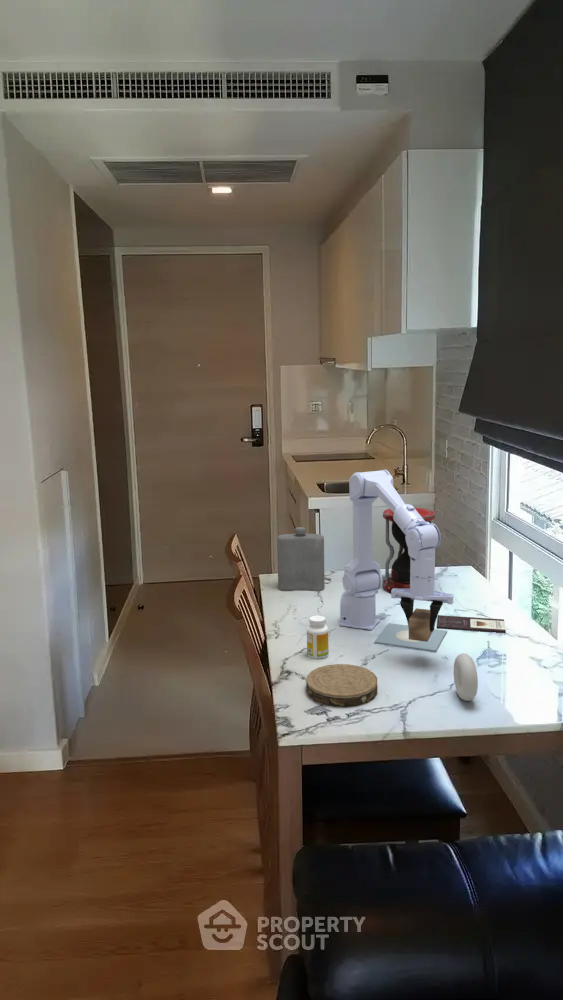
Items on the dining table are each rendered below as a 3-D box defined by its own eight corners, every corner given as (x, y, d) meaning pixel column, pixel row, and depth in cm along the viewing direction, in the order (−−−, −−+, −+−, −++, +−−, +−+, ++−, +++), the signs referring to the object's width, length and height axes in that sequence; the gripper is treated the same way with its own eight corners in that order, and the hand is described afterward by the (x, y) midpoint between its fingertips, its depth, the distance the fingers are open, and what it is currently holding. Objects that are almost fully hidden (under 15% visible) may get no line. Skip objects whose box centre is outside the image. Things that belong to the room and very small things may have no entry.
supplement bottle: (331, 651, 180) (330, 615, 178) (325, 660, 175) (324, 623, 173) (310, 649, 181) (310, 613, 179) (304, 657, 176) (303, 620, 174)
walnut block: (408, 639, 169) (408, 619, 168) (415, 627, 176) (415, 608, 175) (427, 641, 167) (427, 621, 166) (433, 629, 174) (434, 610, 173)
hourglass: (375, 582, 233) (375, 508, 228) (420, 578, 237) (421, 505, 232) (394, 598, 218) (394, 519, 213) (442, 593, 222) (444, 515, 217)
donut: (451, 688, 158) (452, 646, 157) (466, 687, 158) (467, 645, 157) (462, 709, 149) (464, 665, 147) (479, 709, 149) (480, 664, 147)
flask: (324, 585, 232) (323, 526, 228) (324, 591, 226) (323, 530, 222) (279, 585, 233) (277, 526, 229) (277, 591, 227) (276, 530, 223)
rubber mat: (374, 643, 184) (374, 641, 184) (388, 624, 197) (388, 622, 197) (435, 652, 178) (435, 650, 178) (446, 632, 190) (447, 630, 190)
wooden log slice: (292, 689, 160) (291, 677, 160) (343, 669, 170) (343, 658, 169) (339, 716, 148) (339, 703, 147) (392, 693, 157) (392, 680, 157)
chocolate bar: (437, 615, 202) (504, 619, 197) (437, 618, 202) (503, 622, 197) (436, 626, 193) (505, 631, 189) (436, 630, 193) (505, 634, 189)
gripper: (388, 576, 167) (387, 631, 170) (450, 582, 162) (449, 638, 165) (395, 568, 174) (394, 620, 177) (455, 573, 168) (453, 627, 171)
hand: (421, 628), depth 171 cm, fingers closed on walnut block, 4 cm apart
